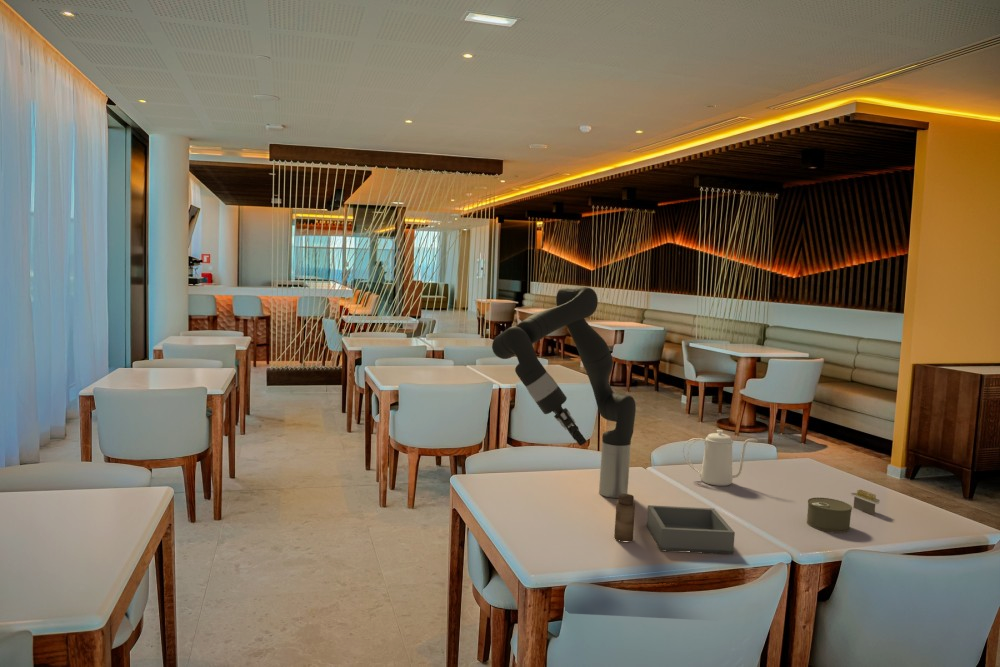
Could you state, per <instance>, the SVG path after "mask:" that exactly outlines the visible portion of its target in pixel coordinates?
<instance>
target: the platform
mask: <svg viewBox="0 0 1000 667" xmlns="http://www.w3.org/2000/svg"><path fill="white" fill-rule="evenodd" d="M850 496H852V497H854V499H853V507H852V509H856V510H859V511H861V512H863V513H865V514H868V515H870V516H873V517H874V516H875V514H876V513H875V512H876V505H880V502H881V501H880V499H879V498H877V495H876V494H875V493H872V492H869V491H866V490H863V489H857V492H850Z"/></svg>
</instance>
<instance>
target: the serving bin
mask: <svg viewBox="0 0 1000 667" xmlns="http://www.w3.org/2000/svg"><path fill="white" fill-rule="evenodd" d="M646 515H647V516H646V527H647V529H648V531H649V533H650V535H651V536H652V539H653V540H654V542H655V543H657V544H656V546H657V545H658V546H657V548H658V549H659V551H660V550H666V551H665V552H669V551H690V552H702V553H701V554H710V553H713V555H715V554H716V555H730V554H733V555H734V544H735V533H736V532H735V531H734V529H733V528H732V527H731V526H730V525H729V524H728V522H726V521H725V519H724V518H723V517H722V516H721V515H720V514H719V512H717V510H716V509H715V508H711V507H710V508H709V507H691V506H690V507H689V506H669V505H650V504H649V505H647V513H646ZM690 552H689V553H690Z"/></svg>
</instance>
